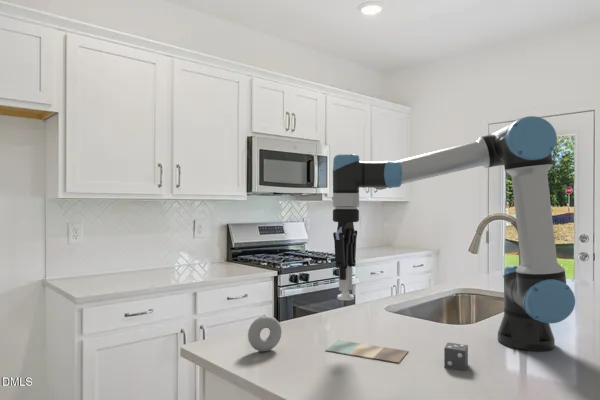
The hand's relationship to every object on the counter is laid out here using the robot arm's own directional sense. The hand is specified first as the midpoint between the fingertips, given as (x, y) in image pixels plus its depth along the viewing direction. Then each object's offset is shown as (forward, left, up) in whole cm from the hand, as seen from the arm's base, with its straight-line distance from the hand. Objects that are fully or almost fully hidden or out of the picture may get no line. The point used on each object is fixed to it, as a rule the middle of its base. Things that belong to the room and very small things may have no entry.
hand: (345, 289), depth 128 cm
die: (-30, 0, -17) cm, 35 cm away
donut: (+19, +13, -17) cm, 29 cm away
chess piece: (0, 0, -3) cm, 3 cm away
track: (-6, 0, -17) cm, 18 cm away
